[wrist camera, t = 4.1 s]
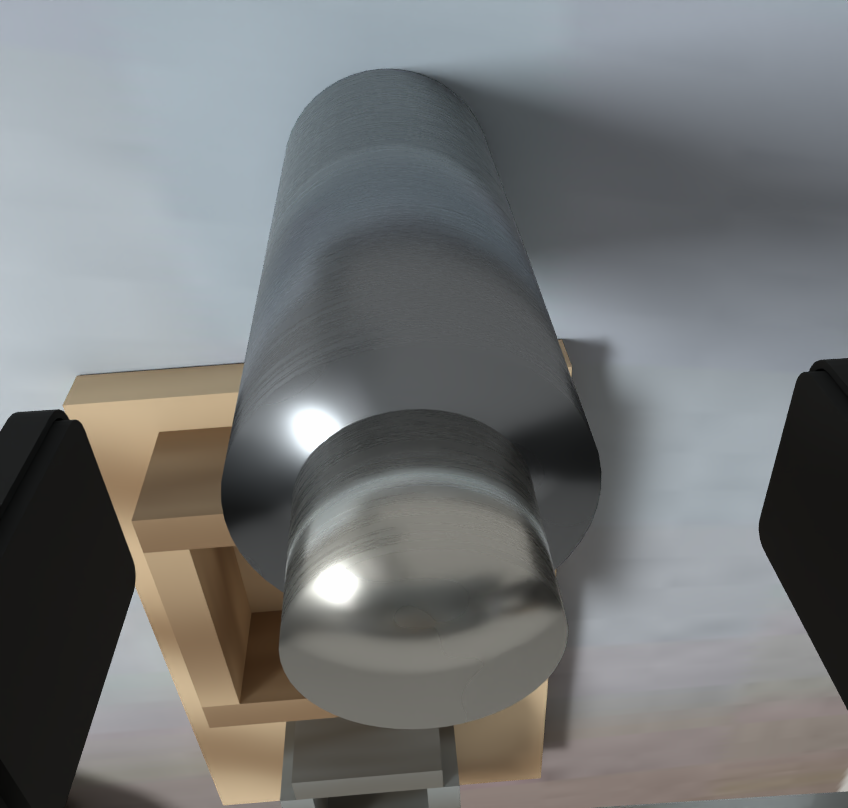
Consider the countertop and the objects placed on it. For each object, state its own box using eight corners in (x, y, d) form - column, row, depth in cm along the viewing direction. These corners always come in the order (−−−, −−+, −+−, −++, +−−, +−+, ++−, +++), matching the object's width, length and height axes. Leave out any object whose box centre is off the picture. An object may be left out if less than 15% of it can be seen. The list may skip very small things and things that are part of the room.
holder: (76, 375, 20) (19, 494, 17) (562, 339, 20) (601, 448, 17) (227, 774, 32) (212, 891, 28) (535, 748, 32) (555, 861, 28)
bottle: (268, 76, 16) (137, 504, 6) (490, 61, 16) (681, 460, 7) (300, 275, 19) (239, 783, 9) (490, 261, 19) (625, 750, 9)
